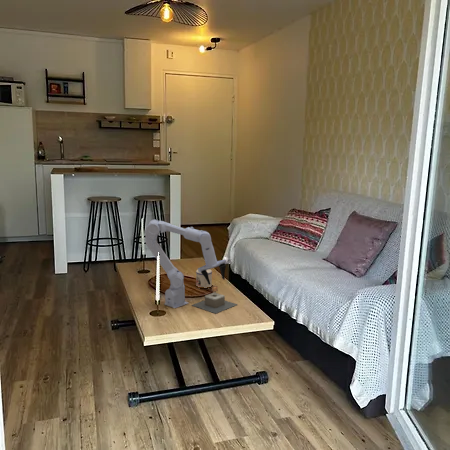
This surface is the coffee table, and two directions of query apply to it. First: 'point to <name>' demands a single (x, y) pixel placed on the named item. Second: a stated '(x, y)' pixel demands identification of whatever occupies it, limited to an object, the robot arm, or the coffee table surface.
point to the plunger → (214, 290)
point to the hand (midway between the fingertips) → (216, 281)
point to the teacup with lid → (203, 279)
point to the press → (214, 303)
